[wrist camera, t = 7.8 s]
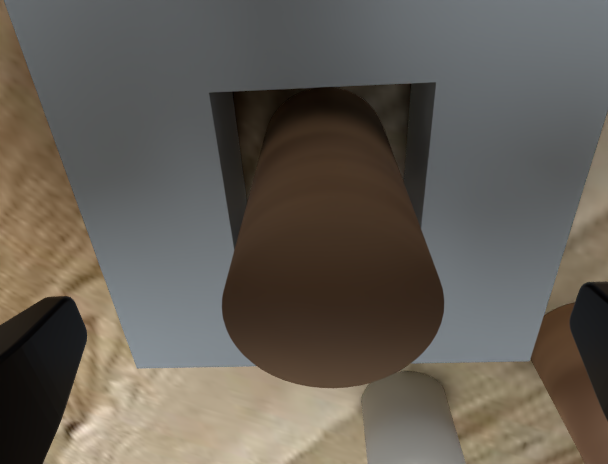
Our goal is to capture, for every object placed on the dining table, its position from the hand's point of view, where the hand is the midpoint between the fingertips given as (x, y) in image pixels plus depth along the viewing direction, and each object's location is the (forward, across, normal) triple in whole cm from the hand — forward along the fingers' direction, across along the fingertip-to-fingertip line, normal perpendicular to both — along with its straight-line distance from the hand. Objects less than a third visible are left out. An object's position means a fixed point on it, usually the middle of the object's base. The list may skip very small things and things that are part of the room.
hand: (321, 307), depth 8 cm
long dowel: (+8, 0, 0) cm, 8 cm away
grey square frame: (+8, 0, 0) cm, 8 cm away
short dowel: (+8, -4, +13) cm, 16 cm away
